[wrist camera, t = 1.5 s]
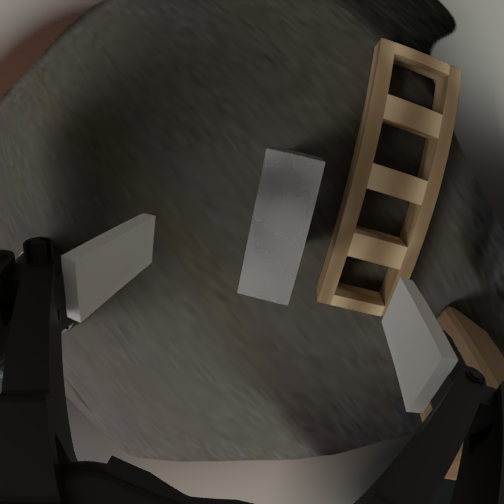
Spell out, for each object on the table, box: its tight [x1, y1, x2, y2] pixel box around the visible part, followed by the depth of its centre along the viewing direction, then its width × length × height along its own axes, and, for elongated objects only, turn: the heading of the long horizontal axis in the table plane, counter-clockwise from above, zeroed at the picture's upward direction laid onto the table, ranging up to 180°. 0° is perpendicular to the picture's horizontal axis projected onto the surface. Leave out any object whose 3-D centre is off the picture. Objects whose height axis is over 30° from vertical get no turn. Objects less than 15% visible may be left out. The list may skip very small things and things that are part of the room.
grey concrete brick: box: [237, 147, 325, 306], centre depth 27 cm, size 4×11×12 cm, turn 169°
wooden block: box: [420, 306, 504, 480], centre depth 26 cm, size 10×10×20 cm
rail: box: [317, 38, 462, 317], centre depth 29 cm, size 9×28×4 cm, turn 169°
